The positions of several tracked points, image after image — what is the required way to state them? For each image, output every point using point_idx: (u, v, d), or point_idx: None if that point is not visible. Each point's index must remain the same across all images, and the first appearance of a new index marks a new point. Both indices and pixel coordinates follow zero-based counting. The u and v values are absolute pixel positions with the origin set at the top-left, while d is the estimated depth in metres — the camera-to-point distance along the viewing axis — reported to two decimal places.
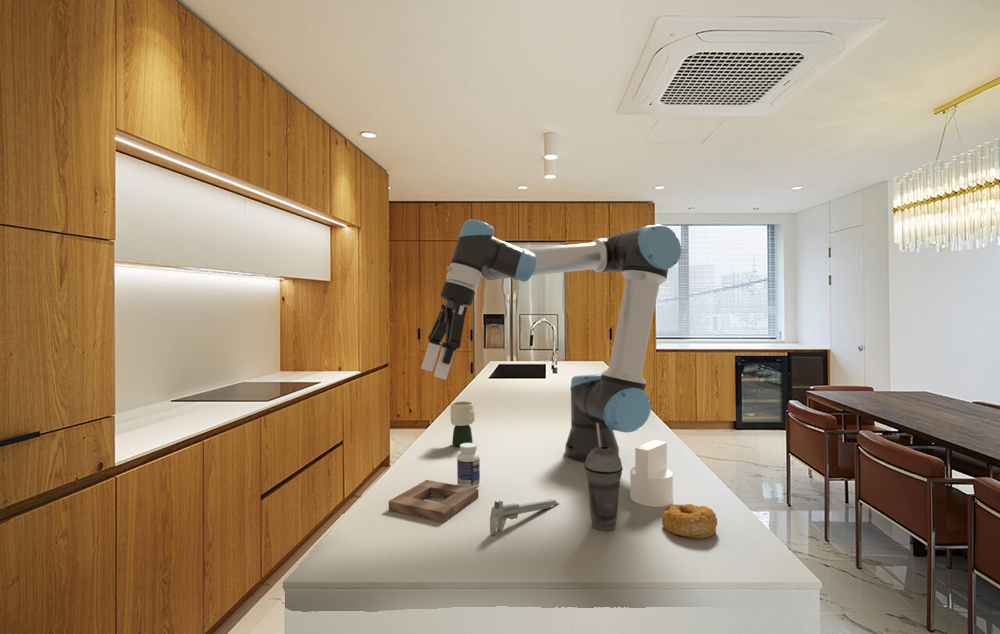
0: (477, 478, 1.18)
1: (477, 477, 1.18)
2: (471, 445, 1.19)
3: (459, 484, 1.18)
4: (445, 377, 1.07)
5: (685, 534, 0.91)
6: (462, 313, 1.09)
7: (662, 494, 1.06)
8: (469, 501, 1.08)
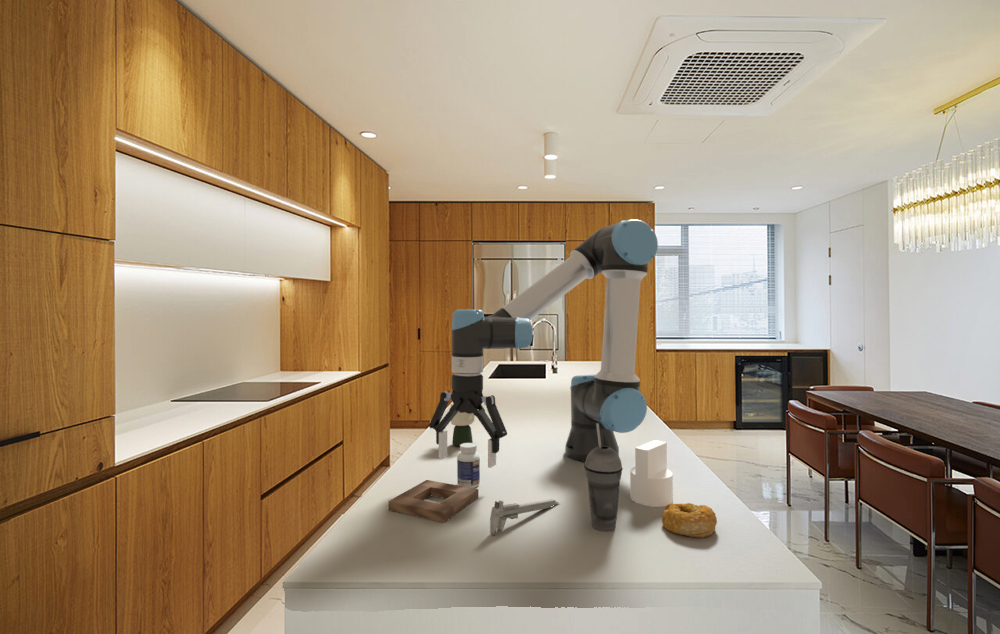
0: (477, 478, 1.18)
1: (477, 477, 1.18)
2: (471, 445, 1.19)
3: (459, 484, 1.18)
4: (495, 463, 1.17)
5: (685, 533, 0.92)
6: (493, 402, 1.17)
7: (662, 494, 1.06)
8: (469, 501, 1.08)
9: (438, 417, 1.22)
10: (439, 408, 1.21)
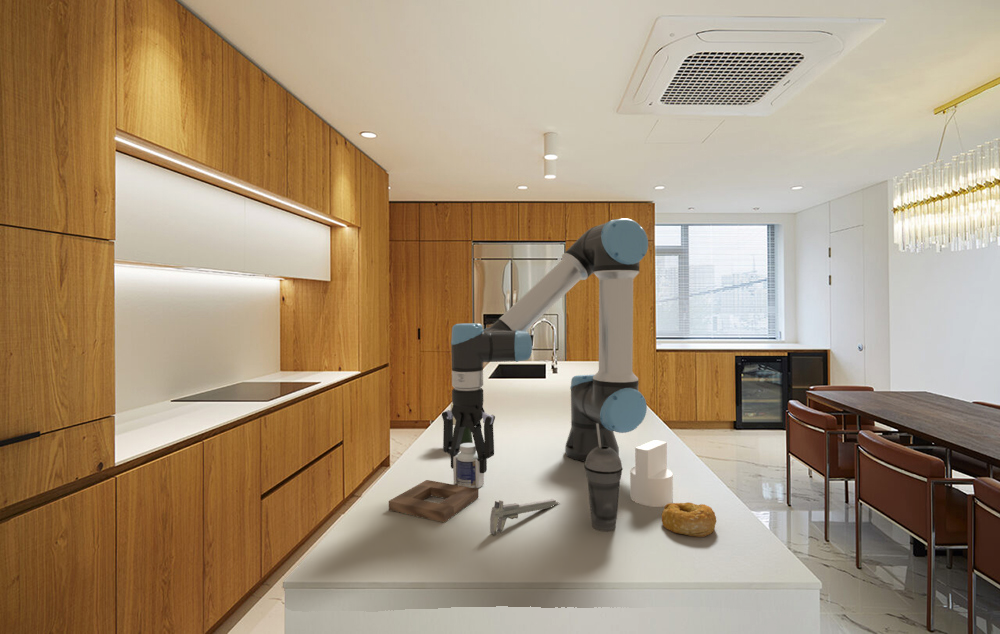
0: None
1: None
2: (471, 445, 1.19)
3: (459, 484, 1.18)
4: (483, 482, 1.19)
5: (685, 532, 0.92)
6: (492, 423, 1.17)
7: (662, 494, 1.06)
8: (469, 501, 1.08)
9: (448, 438, 1.21)
10: (446, 429, 1.21)
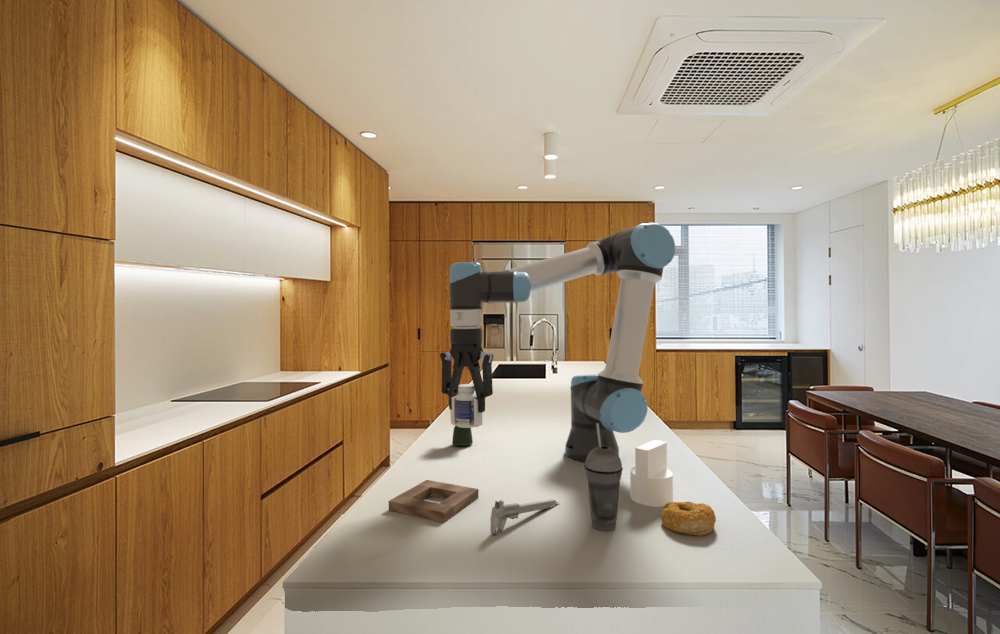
0: None
1: None
2: (469, 385, 1.18)
3: (457, 424, 1.17)
4: (481, 423, 1.19)
5: (684, 531, 0.93)
6: (490, 361, 1.16)
7: (662, 494, 1.06)
8: (469, 501, 1.08)
9: (447, 379, 1.21)
10: (444, 369, 1.20)
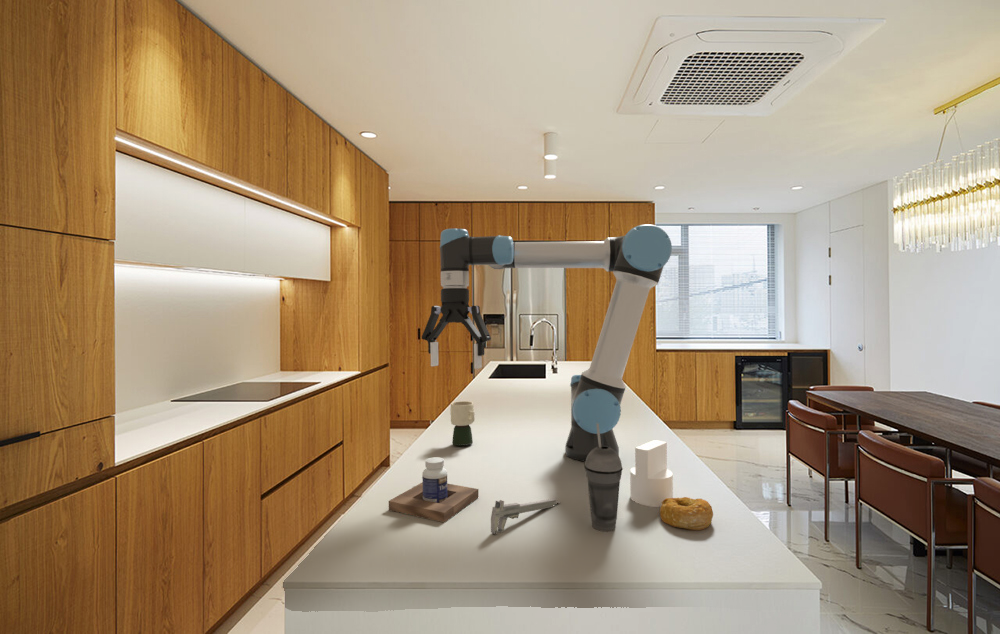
0: (444, 497, 1.07)
1: (444, 495, 1.07)
2: (438, 460, 1.08)
3: None
4: (481, 366, 1.31)
5: (683, 526, 0.95)
6: (478, 311, 1.30)
7: (662, 494, 1.06)
8: (469, 501, 1.08)
9: (429, 329, 1.36)
10: (430, 320, 1.35)
